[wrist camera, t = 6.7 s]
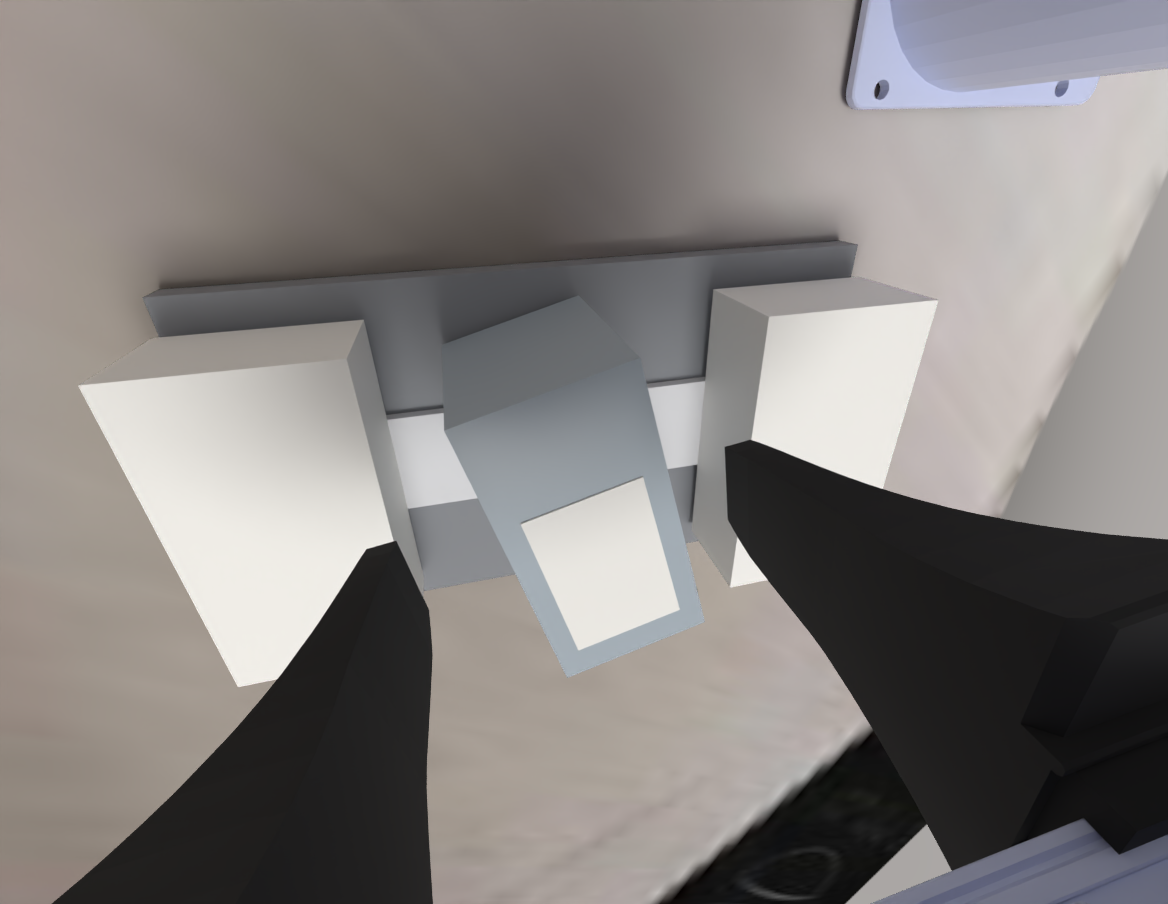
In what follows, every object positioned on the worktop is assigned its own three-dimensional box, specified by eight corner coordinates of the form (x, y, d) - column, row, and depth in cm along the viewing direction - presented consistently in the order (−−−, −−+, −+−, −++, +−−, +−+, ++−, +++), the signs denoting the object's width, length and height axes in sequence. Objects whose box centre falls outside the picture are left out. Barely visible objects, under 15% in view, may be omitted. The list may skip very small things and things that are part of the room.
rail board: (839, 240, 19) (949, 264, 15) (786, 510, 25) (855, 580, 21) (158, 289, 15) (54, 341, 11) (285, 598, 21) (249, 707, 17)
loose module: (578, 295, 17) (640, 358, 12) (641, 510, 21) (705, 623, 16) (441, 344, 16) (444, 431, 11) (536, 551, 21) (567, 679, 16)
